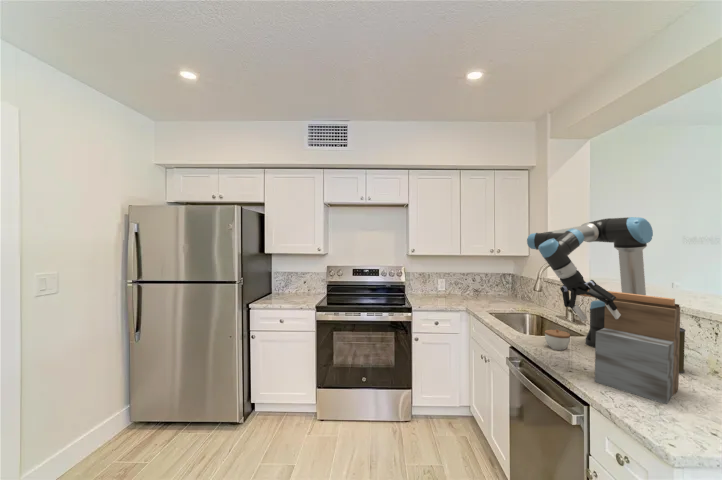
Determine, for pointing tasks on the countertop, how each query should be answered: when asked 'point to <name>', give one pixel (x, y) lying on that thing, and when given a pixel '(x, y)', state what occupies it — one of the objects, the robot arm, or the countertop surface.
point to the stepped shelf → (640, 349)
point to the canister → (681, 350)
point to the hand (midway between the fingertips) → (600, 318)
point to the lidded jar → (557, 339)
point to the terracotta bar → (641, 298)
